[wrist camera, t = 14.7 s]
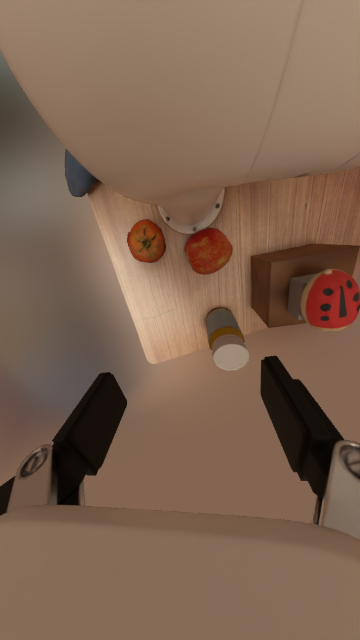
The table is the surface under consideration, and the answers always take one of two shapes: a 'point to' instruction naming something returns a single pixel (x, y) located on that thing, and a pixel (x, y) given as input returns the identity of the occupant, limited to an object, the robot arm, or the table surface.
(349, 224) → the table surface
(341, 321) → the ladybug figurine
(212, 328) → the bottle
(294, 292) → the grey block
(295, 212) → the table surface
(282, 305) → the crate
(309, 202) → the table surface
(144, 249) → the tomato
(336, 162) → the robot arm
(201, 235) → the apple
